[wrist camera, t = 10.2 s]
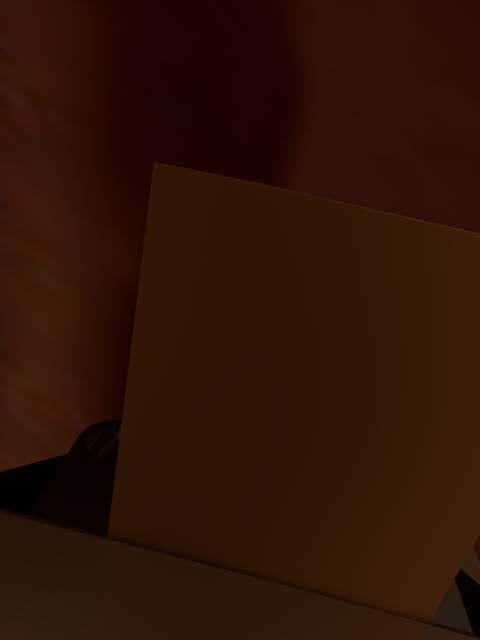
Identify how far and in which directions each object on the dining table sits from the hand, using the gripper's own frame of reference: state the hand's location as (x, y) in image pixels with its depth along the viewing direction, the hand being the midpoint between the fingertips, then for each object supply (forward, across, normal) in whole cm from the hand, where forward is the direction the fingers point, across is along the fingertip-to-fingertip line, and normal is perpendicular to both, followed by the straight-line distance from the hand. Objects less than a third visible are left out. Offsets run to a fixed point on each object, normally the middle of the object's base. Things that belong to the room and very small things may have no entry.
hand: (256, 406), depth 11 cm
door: (+5, 0, +2) cm, 5 cm away
